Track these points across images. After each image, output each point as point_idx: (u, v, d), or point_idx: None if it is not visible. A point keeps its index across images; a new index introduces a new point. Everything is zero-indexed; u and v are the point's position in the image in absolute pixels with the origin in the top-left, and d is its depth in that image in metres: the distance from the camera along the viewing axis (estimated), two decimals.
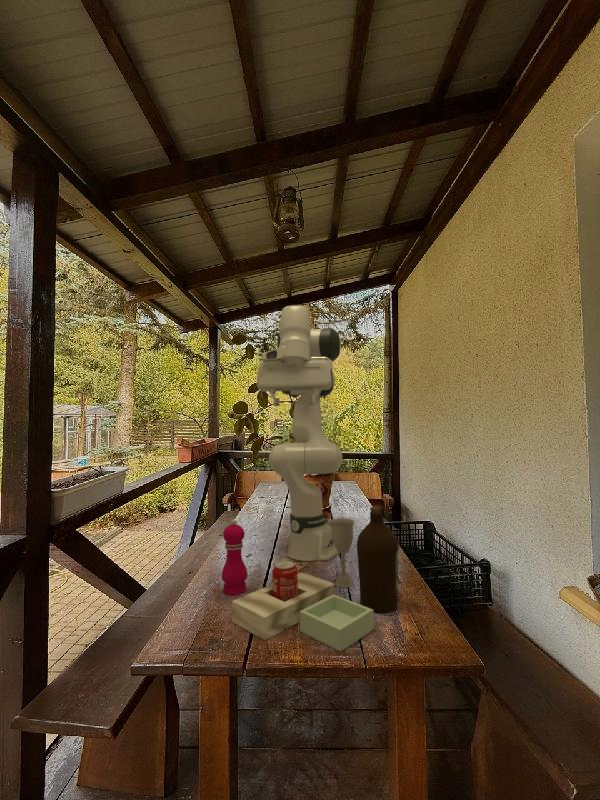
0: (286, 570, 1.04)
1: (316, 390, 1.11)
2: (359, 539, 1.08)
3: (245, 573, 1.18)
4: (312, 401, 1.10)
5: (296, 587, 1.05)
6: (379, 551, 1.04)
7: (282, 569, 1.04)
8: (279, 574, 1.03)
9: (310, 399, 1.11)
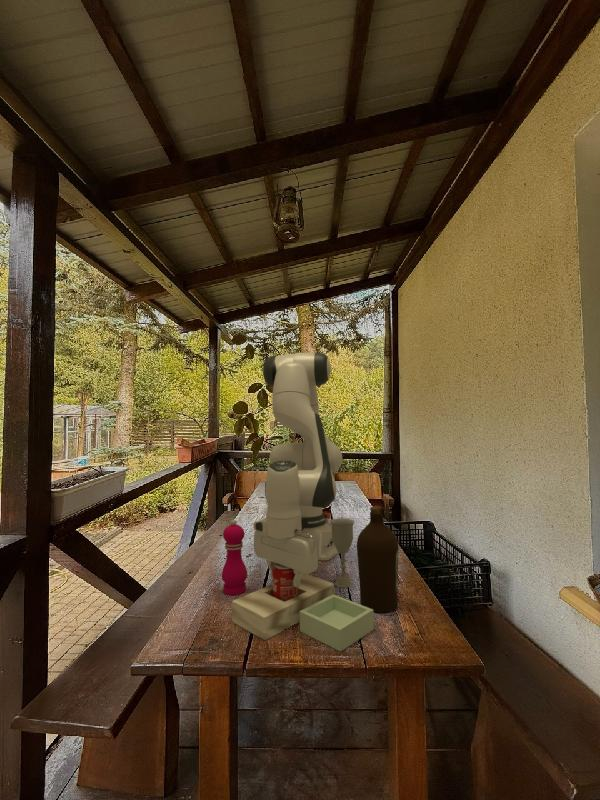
0: (286, 570, 1.04)
1: (296, 573, 1.02)
2: (359, 539, 1.08)
3: (245, 573, 1.18)
4: (293, 584, 1.02)
5: (296, 587, 1.05)
6: (379, 551, 1.04)
7: (282, 569, 1.04)
8: (279, 574, 1.03)
9: (292, 581, 1.03)
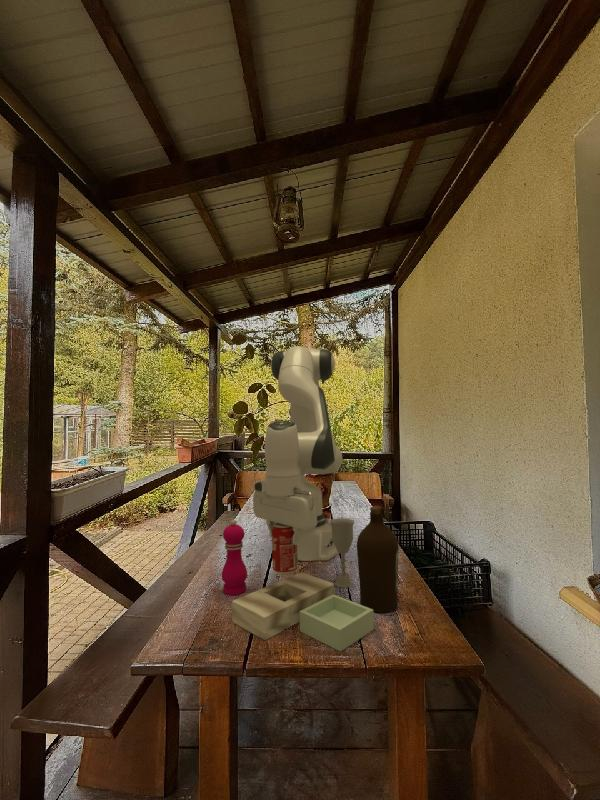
0: (285, 528, 1.04)
1: (295, 531, 1.02)
2: (359, 539, 1.08)
3: (245, 573, 1.18)
4: (293, 542, 1.03)
5: (295, 546, 1.05)
6: (379, 551, 1.04)
7: (281, 528, 1.04)
8: (278, 533, 1.04)
9: (291, 539, 1.03)
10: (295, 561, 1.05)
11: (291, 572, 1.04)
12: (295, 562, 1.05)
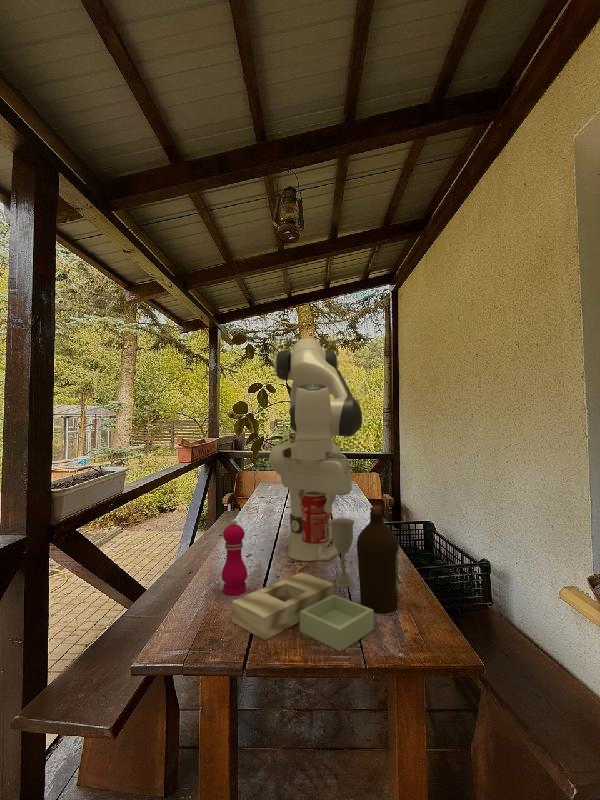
0: (316, 497, 0.98)
1: (328, 498, 0.96)
2: (359, 539, 1.08)
3: (245, 573, 1.18)
4: (325, 510, 0.96)
5: (327, 516, 0.99)
6: (379, 551, 1.04)
7: (312, 496, 0.98)
8: (309, 502, 0.97)
9: (323, 507, 0.97)
10: (327, 533, 0.98)
11: (322, 544, 0.97)
12: (327, 534, 0.98)
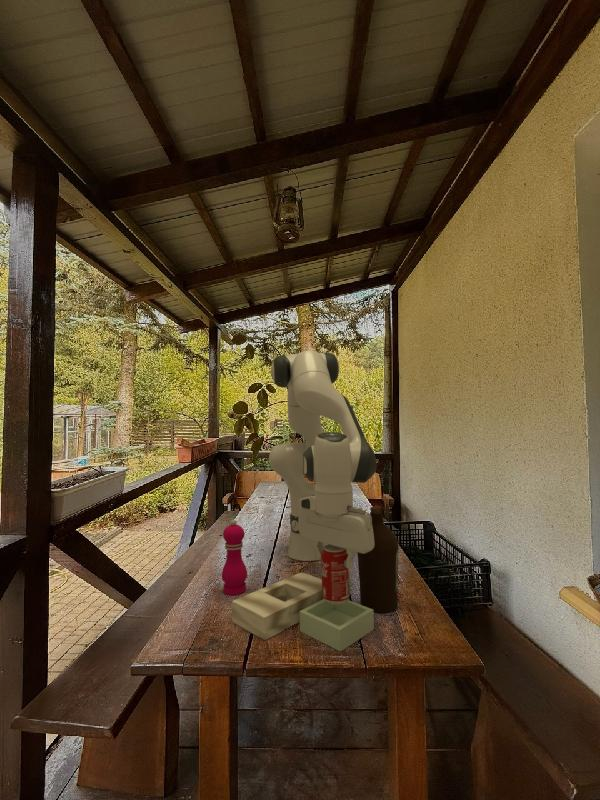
0: (337, 553, 0.94)
1: (349, 554, 0.93)
2: None
3: (245, 573, 1.18)
4: (346, 566, 0.93)
5: (348, 572, 0.96)
6: (379, 551, 1.04)
7: (333, 552, 0.94)
8: (330, 558, 0.94)
9: (344, 563, 0.94)
10: (348, 589, 0.95)
11: (343, 601, 0.94)
12: (348, 590, 0.95)
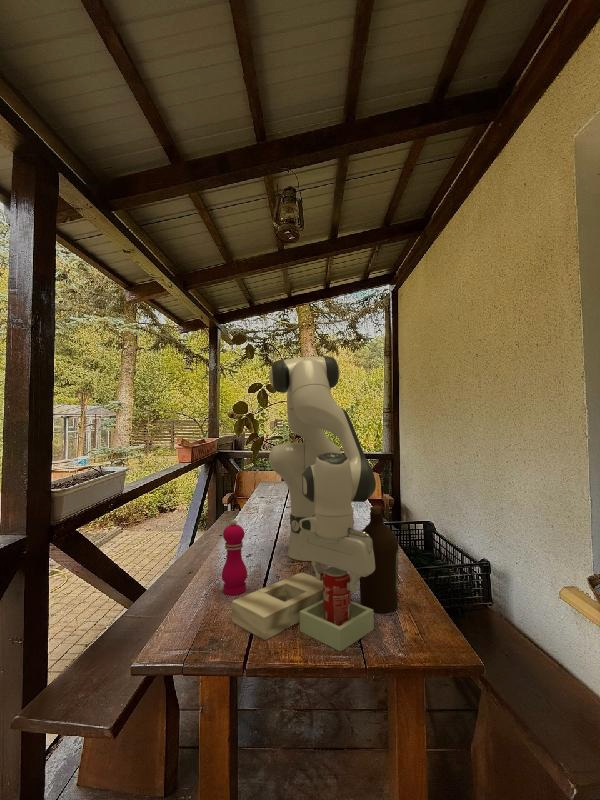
0: (339, 577, 0.94)
1: (353, 577, 0.92)
2: None
3: (245, 573, 1.18)
4: (350, 589, 0.93)
5: (349, 596, 0.95)
6: (379, 551, 1.04)
7: (335, 576, 0.94)
8: (332, 582, 0.94)
9: (348, 586, 0.93)
10: (349, 613, 0.95)
11: None
12: (350, 614, 0.95)
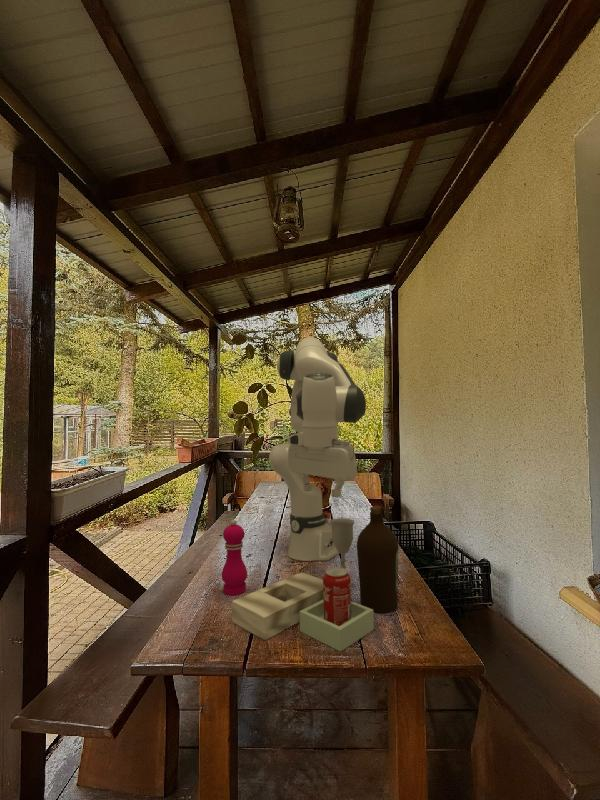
0: (339, 577, 0.94)
1: (337, 483, 1.00)
2: (359, 539, 1.08)
3: (245, 573, 1.18)
4: (334, 495, 1.01)
5: (350, 596, 0.95)
6: (379, 551, 1.04)
7: (335, 577, 0.94)
8: (332, 583, 0.94)
9: (332, 492, 1.01)
10: (349, 613, 0.95)
11: None
12: (350, 615, 0.95)
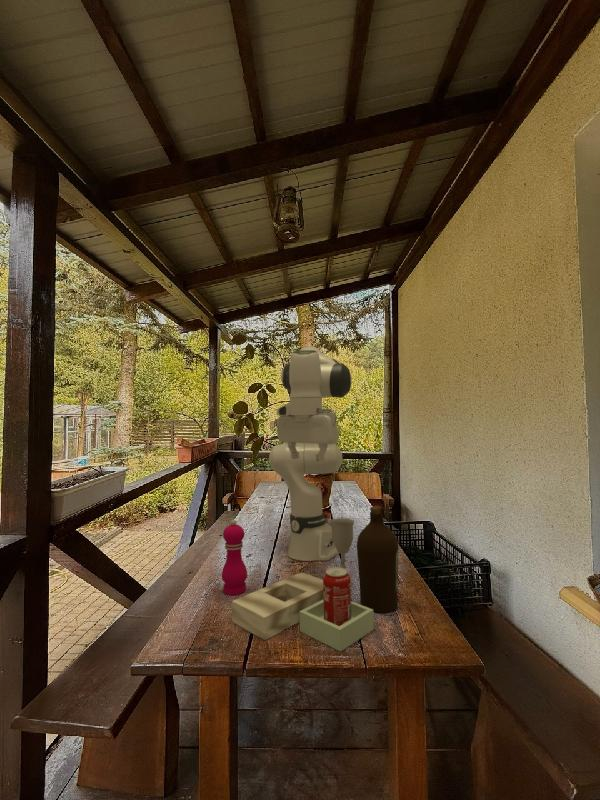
0: (339, 577, 0.94)
1: (320, 447, 1.09)
2: (359, 539, 1.08)
3: (245, 573, 1.18)
4: (318, 459, 1.10)
5: (350, 596, 0.95)
6: (379, 551, 1.04)
7: (335, 577, 0.94)
8: (332, 583, 0.94)
9: (316, 456, 1.11)
10: (349, 613, 0.95)
11: None
12: (350, 615, 0.95)
